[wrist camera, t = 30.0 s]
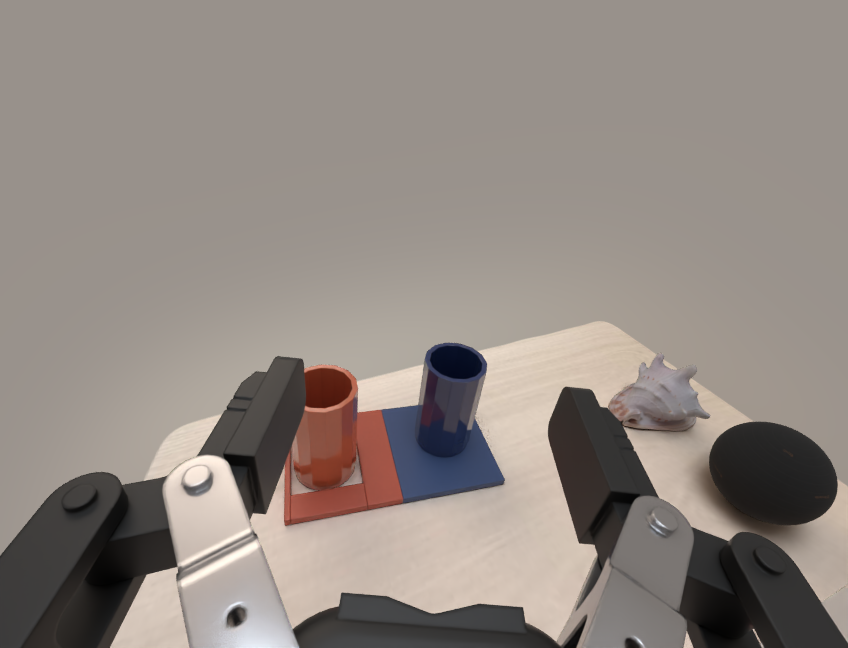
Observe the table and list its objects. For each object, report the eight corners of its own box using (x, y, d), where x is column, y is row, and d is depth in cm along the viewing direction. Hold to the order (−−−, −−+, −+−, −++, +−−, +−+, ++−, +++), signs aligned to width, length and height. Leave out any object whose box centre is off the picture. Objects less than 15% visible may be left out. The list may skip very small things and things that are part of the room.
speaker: (706, 447, 50) (750, 389, 45) (803, 505, 45) (867, 445, 39) (680, 493, 44) (727, 432, 39) (788, 566, 38) (863, 507, 33)
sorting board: (284, 525, 36) (284, 520, 36) (286, 425, 46) (285, 421, 45) (503, 484, 43) (505, 479, 42) (464, 403, 52) (465, 399, 52)
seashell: (713, 430, 53) (753, 377, 48) (652, 455, 48) (689, 399, 43) (650, 381, 60) (679, 330, 55) (591, 398, 56) (617, 344, 50)
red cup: (295, 496, 39) (286, 416, 33) (294, 444, 44) (286, 367, 38) (359, 485, 41) (361, 408, 35) (351, 436, 46) (352, 361, 40)
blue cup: (422, 462, 43) (435, 385, 37) (409, 418, 48) (418, 344, 42) (476, 453, 45) (497, 379, 38) (457, 412, 50) (473, 340, 43)
